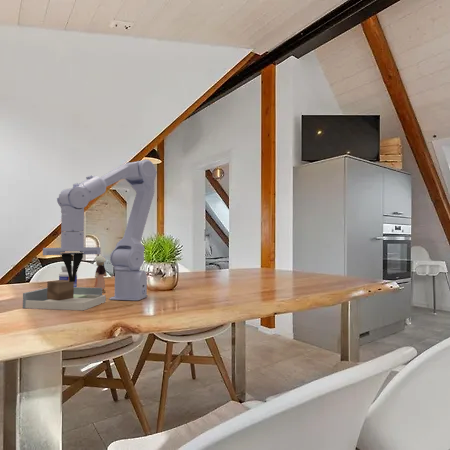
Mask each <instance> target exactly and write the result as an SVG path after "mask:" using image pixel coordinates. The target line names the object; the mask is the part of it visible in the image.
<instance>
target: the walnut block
mask: <svg viewBox="0 0 450 450" xmlns="http://www.w3.org/2000/svg"><path fill="white" fill-rule="evenodd" d="M46 288H47V299H51V300H64V299H70V298H73V295H74V282H69V280H59V279H58V280H49V281H47V286H46Z"/></svg>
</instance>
